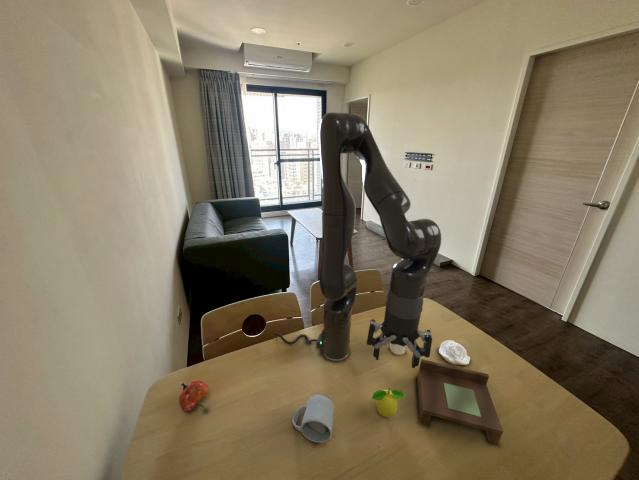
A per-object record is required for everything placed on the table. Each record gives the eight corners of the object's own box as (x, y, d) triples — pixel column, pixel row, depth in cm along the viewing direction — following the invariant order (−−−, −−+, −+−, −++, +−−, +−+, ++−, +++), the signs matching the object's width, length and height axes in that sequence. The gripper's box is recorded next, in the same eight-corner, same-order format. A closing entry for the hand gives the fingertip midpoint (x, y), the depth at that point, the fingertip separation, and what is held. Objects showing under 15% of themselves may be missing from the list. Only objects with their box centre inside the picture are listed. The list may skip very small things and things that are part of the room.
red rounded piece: (215, 401, 73) (195, 373, 75) (219, 398, 68) (198, 369, 70) (191, 424, 68) (170, 394, 70) (193, 423, 63) (171, 390, 65)
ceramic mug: (334, 412, 69) (335, 392, 66) (331, 445, 61) (331, 425, 58) (296, 406, 70) (295, 387, 67) (289, 438, 63) (287, 418, 60)
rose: (449, 331, 92) (477, 347, 85) (446, 340, 94) (474, 357, 87) (435, 344, 86) (465, 362, 79) (433, 354, 88) (461, 372, 81)
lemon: (401, 413, 69) (407, 387, 65) (391, 430, 65) (396, 403, 61) (380, 397, 73) (384, 372, 69) (369, 411, 69) (372, 386, 65)
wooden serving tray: (420, 422, 67) (425, 402, 64) (416, 377, 79) (421, 358, 76) (497, 444, 62) (507, 423, 59) (480, 393, 75) (488, 373, 72)
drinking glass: (404, 343, 92) (411, 310, 87) (409, 358, 86) (416, 323, 80) (386, 341, 93) (391, 308, 87) (389, 356, 87) (394, 321, 81)
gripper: (435, 302, 57) (424, 356, 63) (372, 292, 61) (367, 344, 67) (440, 324, 51) (427, 381, 57) (369, 311, 54) (363, 366, 60)
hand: (394, 361), depth 62 cm, fingers open, 8 cm apart
